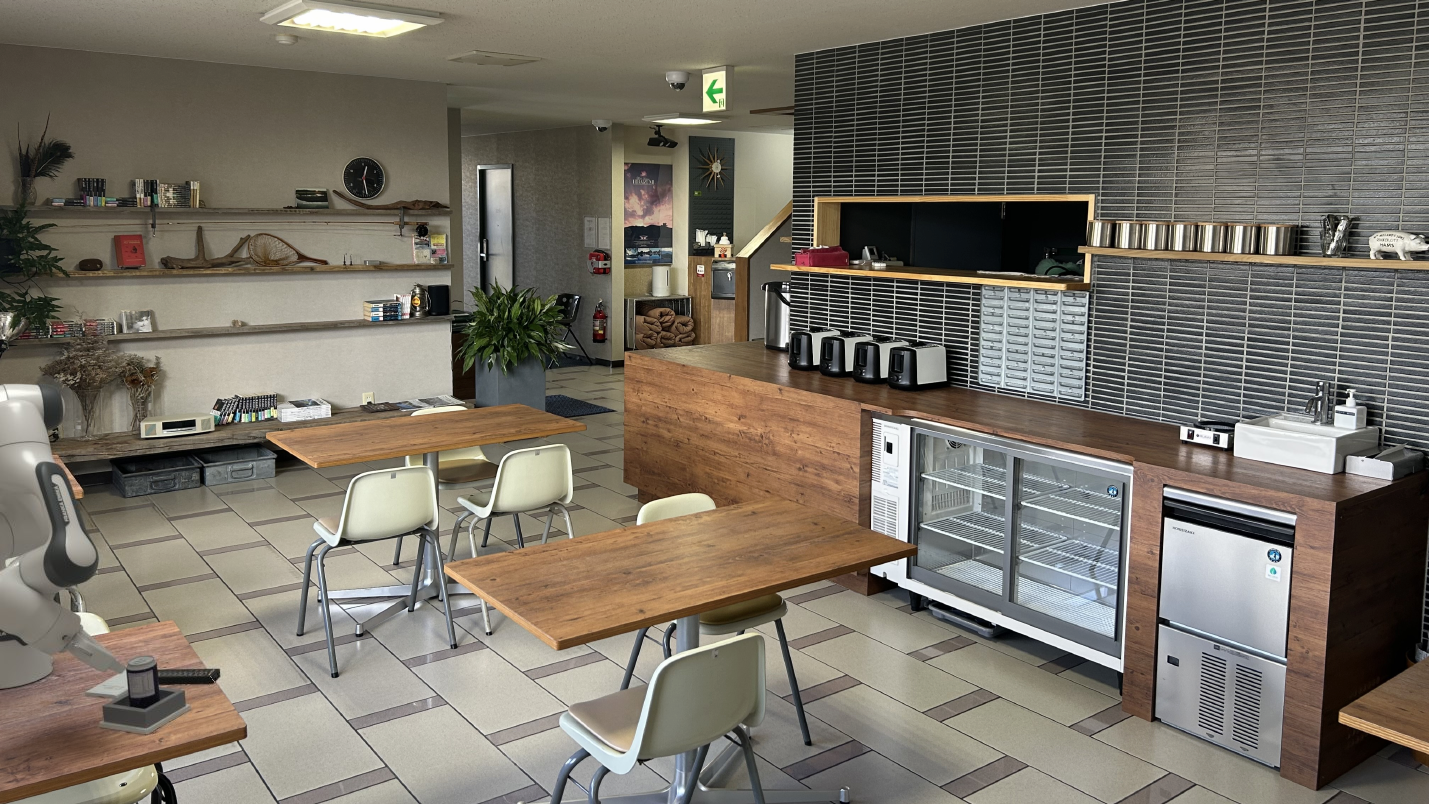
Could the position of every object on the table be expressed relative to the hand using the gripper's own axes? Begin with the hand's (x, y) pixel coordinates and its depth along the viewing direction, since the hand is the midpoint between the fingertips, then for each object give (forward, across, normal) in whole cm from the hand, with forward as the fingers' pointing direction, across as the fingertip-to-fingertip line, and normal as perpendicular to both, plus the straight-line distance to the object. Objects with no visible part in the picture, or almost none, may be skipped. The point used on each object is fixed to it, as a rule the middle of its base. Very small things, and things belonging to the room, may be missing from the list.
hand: (115, 663), depth 215 cm
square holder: (+13, 0, +6) cm, 15 cm away
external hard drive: (+15, +21, +6) cm, 26 cm away
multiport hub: (+23, +14, -2) cm, 27 cm away
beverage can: (+12, 0, +6) cm, 14 cm away
